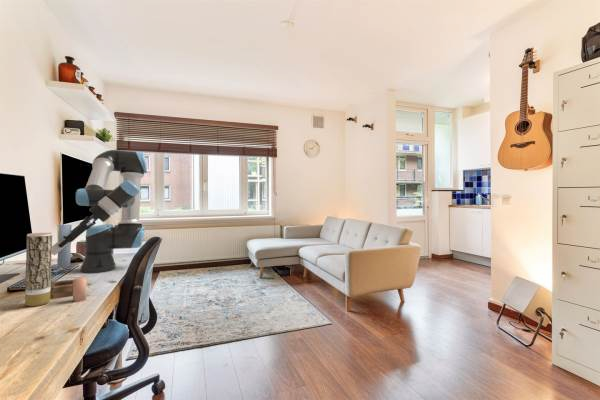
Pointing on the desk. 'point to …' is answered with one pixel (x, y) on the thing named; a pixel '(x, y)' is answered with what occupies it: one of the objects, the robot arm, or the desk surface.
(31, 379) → the desk surface
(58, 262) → the slate-blue pin
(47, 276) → the bark-patterned canister
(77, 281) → the terracotta pin
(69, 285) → the walnut socket block
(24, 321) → the desk surface
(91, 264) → the robot arm
